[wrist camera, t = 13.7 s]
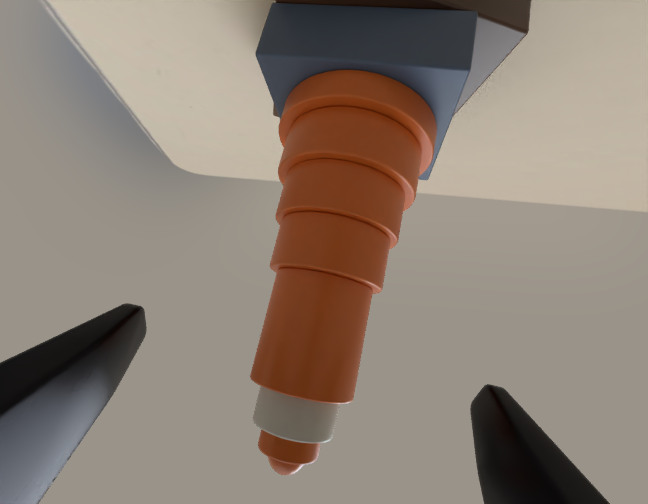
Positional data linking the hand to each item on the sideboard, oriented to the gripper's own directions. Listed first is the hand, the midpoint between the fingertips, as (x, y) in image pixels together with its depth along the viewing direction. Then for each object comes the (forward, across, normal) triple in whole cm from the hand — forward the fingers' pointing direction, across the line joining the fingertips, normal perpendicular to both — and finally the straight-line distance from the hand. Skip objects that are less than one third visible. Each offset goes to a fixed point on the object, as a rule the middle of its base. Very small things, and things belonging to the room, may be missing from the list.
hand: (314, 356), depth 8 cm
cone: (+8, 0, -4) cm, 9 cm away
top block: (+9, 0, -6) cm, 11 cm away
